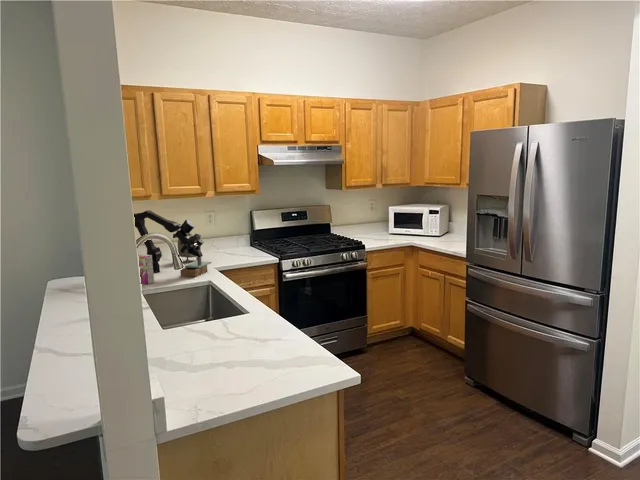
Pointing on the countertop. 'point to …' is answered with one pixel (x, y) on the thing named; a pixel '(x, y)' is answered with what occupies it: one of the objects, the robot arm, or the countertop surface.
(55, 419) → the countertop surface
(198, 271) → the walnut box
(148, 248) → the robot arm
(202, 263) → the lid
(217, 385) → the countertop surface
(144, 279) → the candy bar box
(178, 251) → the tabletop clock
